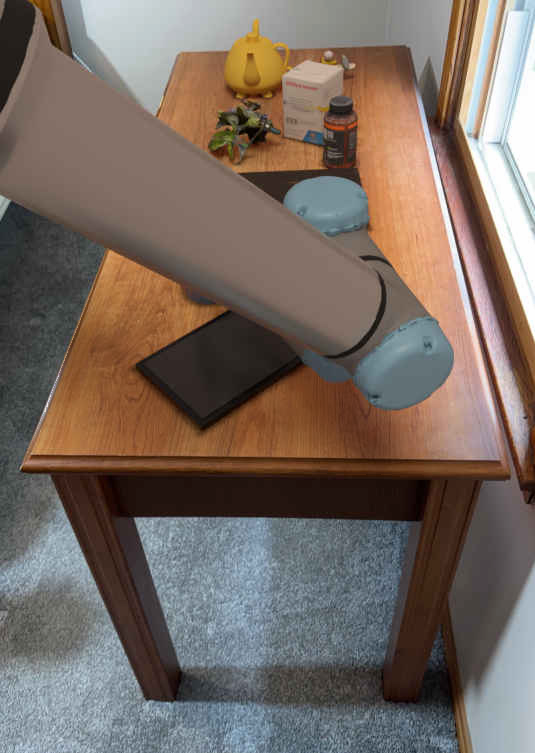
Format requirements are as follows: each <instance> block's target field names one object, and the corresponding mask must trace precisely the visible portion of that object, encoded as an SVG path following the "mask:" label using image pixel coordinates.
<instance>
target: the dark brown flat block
mask: <svg viewBox="0 0 535 753" xmlns="http://www.w3.org/2000/svg"><path fill="white" fill-rule="evenodd" d="M237 173H238V174H239V175H241V176H242V177H243V178H245V179H246V180H248V181H249V182H251V183H252V184H254V185H255V186H256V187H258V188H259V189H261V190H262V191H264V192H265V193H267V194H268V195H269V196H271V197H272V198H274V199H275V200H277V201H278V202H280V203H281V204H282V205H283V202H284V198H285V196H286V194H287V192H288V191H289V190H290V189H291V188H292V187H293V186H294V185H296V184H297V183H299V182H301V181H303V180H306V179H311V178H316V177H320V176H334V177H341V178H345V179H348V180H351V181H353V182H355V183H357V184H358V185H359V186H361V187H362V188H363V185H362V180H361V175H360V170H359V167H349V168H335V169H332V168H315V169H291V170H290V169H289V170H267V171H246V172H244V171H243V172H237ZM369 223H370V221H369V222H368V225H367V230H368V229H369V226H370V225H369Z"/></svg>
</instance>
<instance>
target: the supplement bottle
mask: <svg viewBox="0 0 535 753" xmlns="http://www.w3.org/2000/svg"><path fill="white" fill-rule="evenodd" d="M353 108H354V100H353V98H352V97H350V96H347V95H343V96H336V97H333V98H331V99H330V101H329V110H328V111H327V112H326V113H325V115H324V124H323V145H322V163H323V164H324V166H326V167H327V168H328V169H335V168H352V167H353V166H354V165H355V164H356V161H357V145H358V126H359V124H358V123H359V116H358V113H357V111H356V110H354V109H353Z"/></svg>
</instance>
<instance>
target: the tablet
mask: <svg viewBox="0 0 535 753" xmlns="http://www.w3.org/2000/svg"><path fill="white" fill-rule="evenodd" d="M303 365H305V364H304V363H303V362H302V359H301V358H300V357H299V356H298V355H297V353H296V352H295V351H294V350H293V349H292V348H291V347H290V346H289V345H288V343H287V342H286V341H285V340H284V339H283V338H282V337H281V336H280V335H279V334H277V333H275V332H273V331H271V330H269V329H267V328H265V327H263V326H261V325H259V324H257V323H255V322H253V321H251V320H249V319H247V318H245V317H243V316H241V315H239V314H237V313H235V312H233V311H231V310H229V309H227V310H226V311H224V312H222V313H221V314H219V315H217V316H215V317H214V318H212V319H210V320H208V321H206V322H204V323H203V324H201V325H199V326H198V327H197V328H194V329H193V330H191V331H189V332H187V333H186V334H184V335H183V336H181V337H179V338H178V339H175V340H174V341H172V342H171V343H169V344H167V345H165V346H163V347H161V348H160V349H158V350H157V351H154V352H153V353H151V354H149V355H148V356H146V357H144V358H142V359H141V360H139V361H137V362H136V363H135V364H134V366H135V369H136V370H137V371H138V372H139V373H140V374H141V375H142V376H143V377H144V378H145V379H146V380H147V381H149V383H150V384H152V385H153V386H154V387H155V388H156V389H157V390H158V391H159V392H160V393H161V394H162V395H163V396H164V397H165V398H166V399H167V400H169V402H171V404H173V405H174V406H175V407H176V408H177V409H178V410H179V411H180V412H181V413H182V414H183V415H184V416H185V417H186V418H187V419H188V420H189V421H190V422H192V423H193V425H195V426H196V427H197V428H198V429H199V430H200V431H201V432H204V431H206V430H207V429H208V428H210V427H211V426H213V425H214V424H216V423H218V422H219V421H221V420H222V419H223V418H225V417H226V416H228V415H229V414H231V413H232V412H234V411H235V410H237V409H238V408H240V407H241V406H242V405H243V406H244V404H246V403H248V402H249V401H251V400H252V399H253V398H255V397H256V396H258V395H260V394H261V393H262V392H264V391H265V390H267V389H268V388H270V387H272V386H273V385H274V384H276V383H277V382H279V381H281V380H282V379H283V378H284V377H286V376H287V375H290V374H291V373H292V372H294V371H295V370H296V369H298V368H300V367H301V366H303Z"/></svg>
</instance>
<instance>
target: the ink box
mask: <svg viewBox="0 0 535 753" xmlns="http://www.w3.org/2000/svg"><path fill="white" fill-rule="evenodd" d="M292 68H293V69H291V70H289V71H287V73H285V74H284V75H282V81H281V87H282V111H283V137H284V138H287V139H292V140H297V141H301V142H304V143H309V144H310V143H311V144H315V145H318V146H323V124H324V115H325V113H326V112H327V111H328V110H329V101H330V99H331V98H333V97H336V96H344V95H343V93H344V73H345V72H344V68H341V67H336V66H331V65H326V64H321V63H320V62H316V61H313V60H312V61H308V60H304V61H303V62H301V63H299V64H297V65H296V66H294V67H292Z"/></svg>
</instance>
